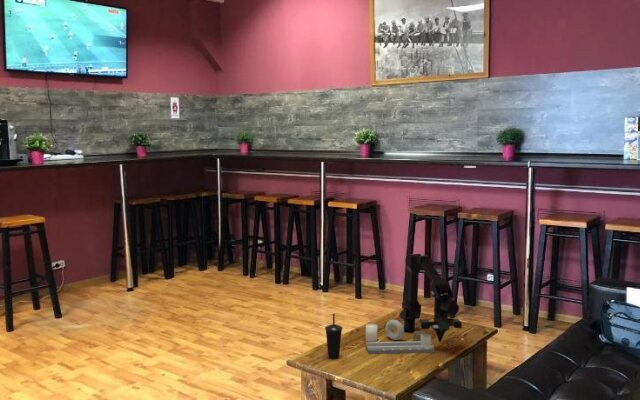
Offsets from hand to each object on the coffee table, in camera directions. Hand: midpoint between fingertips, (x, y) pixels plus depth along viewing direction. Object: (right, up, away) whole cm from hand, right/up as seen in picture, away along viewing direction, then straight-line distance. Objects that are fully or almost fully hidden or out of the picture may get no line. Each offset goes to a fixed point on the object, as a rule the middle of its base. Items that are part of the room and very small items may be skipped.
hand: (439, 341), depth 274 cm
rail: (-18, -4, -1) cm, 19 cm away
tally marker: (-7, -2, 0) cm, 7 cm away
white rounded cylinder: (-30, -2, +13) cm, 33 cm away
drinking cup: (-49, -5, -9) cm, 50 cm away
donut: (-19, -2, +12) cm, 23 cm away
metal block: (-7, -2, +11) cm, 13 cm away
